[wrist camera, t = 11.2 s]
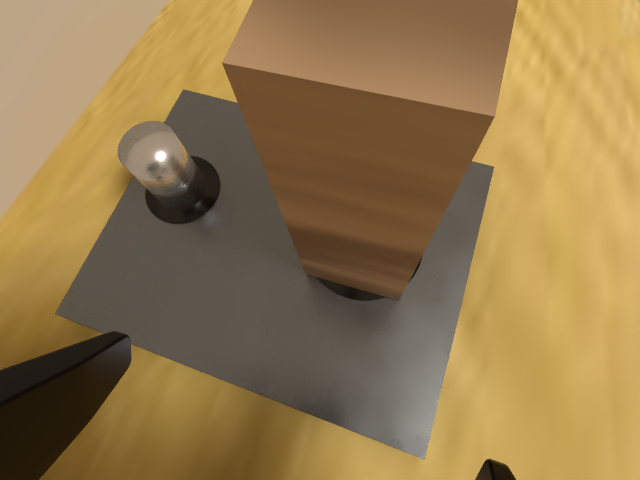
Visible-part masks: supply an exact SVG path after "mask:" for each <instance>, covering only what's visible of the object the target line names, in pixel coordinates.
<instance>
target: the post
mask: <svg viewBox="0 0 640 480" xmlns="http://www.w3.org/2000/svg"><path fill="white" fill-rule="evenodd" d="M517 3H518V0H253V2H252V4H251V6H250V8H249V10H248V12H247V14H246V16H245V18H244V20H243V22H242V24H241V26H240V28H239V30H238V32H237V34H236V36H235V38H234V40H233V42H232V44H231V46H230V48H229V50H228V52H227V54H226V56H225V58H224V60H223V62H222V64H223V66H224V69H225V71H226V74H227V76H228V79H229V81H230V84H231V86H232V89H233V91H234V94H235V96H236V99H237V102H238V104H239V107H240V109H241V112H242V114H243V117H244V119H245V122H246V124H247V127H248V129H249V132H250V135H251V137H252V140H253V142H254V145H255V147H256V150H257V152H258V155H259V157H260V160H261V162H262V165H263V167H264V170H265V173H266V175H267V178H268V180H269V183H270V185H271V188H272V190H273V193H274V195H275V198H276V200H277V203H278V206H279V208H280V211H281V213H282V216H283V218H284V221H285V223H286V226H287V228H288V231H289V233H290V236H291V238H292V241H293V244H294V246H295V249H296V251H297V254H298V256H299V259H300V261H301V264H302V266H303V269H304V271H305V274H308V275H311V276H315V277H319V278H322V279H325V280H329V281H332V282H336V283H339V284H343V285H346V286H350V287H353V288H357V289H360V290H364V291H367V292H371V293H374V294H378V295H381V296H385V297H388V298H392V299H395V300H400V298H401V296H402V294H403V292H404V290H405V288H406V286H407V284H408V282H409V281H410V279H411V277H412V275H413V273H414V271H415V269H416V267H417V265H418V263H419V261H420V259H421V257H422V255H423V254H424V252H425V250H426V248H427V246H428V244H429V242H430V240H431V238H432V236H433V234H434V232H435V230H436V229H437V227H438V225H439V223H440V221H441V219H442V217H443V215H444V213H445V211H446V209H447V207H448V205H449V203H450V202H451V200H452V198H453V196H454V194H455V192H456V190H457V188H458V186H459V184H460V182H461V180H462V178H463V177H464V175H465V173H466V171H467V169H468V167H469V165H470V163H471V161H472V159H473V157H474V155H475V153H476V152H477V150H478V148H479V146H480V144H481V142H482V140H483V138H484V136H485V134H486V132H487V130H488V128H489V126H490V125H491V123H492V121H493V119H494V117H495V112H496V107H497V103H498V98H499V93H500V88H501V83H502V78H503V73H504V68H505V63H506V58H507V53H508V48H509V43H510V38H511V33H512V28H513V23H514V18H515V13H516V8H517Z"/></svg>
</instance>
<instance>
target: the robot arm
mask: <svg viewBox="0 0 640 480" xmlns="http://www.w3.org/2000/svg"><path fill="white" fill-rule="evenodd" d="M130 363H131V342H130V337H129V336H128V335H127V334H124V333H121V332H118V331H111V332H108V333H105V334H102V335H100V336H97V337H94V338H91V339H88V340H85V341H82V342H80V343H77V344H74V345H71V346H68V347H65V348H62V349H60V350H57V351H54V352H51V353H48V354H45V355H42V356H40V357H37V358H34V359H31V360H28V361H25V362H22V363H20V364H17V365H14V366H11V367H8V368H5V369H2V370H0V480H39V479H40V478H41V477H42V476H43V474H44V473H45V472H46V471H47V470H48V469H49V468H50V466H51V465H52V464H53V463H54V462H55V461H56V460H57V458H58V457H59V456H60V455H61V454H62V453H63V451H64V450H65V449H66V448H67V447H68V446H69V445H70V443H71V442H72V441H73V440H74V439H75V438H76V437H77V435H78V434H79V433H80V432H81V431H82V430H83V428H84V427H85V426H86V425H87V424H88V423H89V421H90V420H91V419H92V418H93V416H94V415H95V414H96V412H97V411H98V410H99V408H100V407H101V405H102V404H103V403H104V401H105V400H106V398H107V397H108V396H109V394H110V393H111V391H112V390H113V389H114V387H115V386H116V384H117V383H118V382H119V380H120V379H121V378H122V376H123V375H124V373H125V372H126V371H127V369H128V368H129V366H130ZM475 480H516V478H515V477H514V475H513V474H512V472H511V470H510V469H509V467H508V466H507V465H505V464H503V463H501V462H498V461H495V460H492V459H487V460H486V461H485V462H484V464H483V466H482V468H481V470H480V472H479V473H478V475H477V477H476V479H475Z"/></svg>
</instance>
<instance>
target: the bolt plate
mask: <svg viewBox="0 0 640 480" xmlns="http://www.w3.org/2000/svg"><path fill="white" fill-rule="evenodd" d="M118 157H119V160H120V162H121V163H122V164H123V165H124V166H125V167H126V168H127V169H128V170H129V171H130V172H131V173H132V174H133V175H134V177H133V178H132V180H131V182H130V184H129V185H128V187H127V189H126V191H125V192H124V194H123V196H122V198H121V199H120V201H119V203H118V205H117V206H116V208H115V210H114V212H113V213H112V215H111V217H110V219H109V220H108V222H107V224H106V226H105V227H104V229H103V231H102V233H101V234H100V236H99V238H98V240H97V241H96V243H95V245H94V247H93V248H92V250H91V252H90V254H89V255H88V257H87V259H86V261H85V262H84V264H83V266H82V268H81V269H80V271H79V273H78V275H77V276H76V278H75V280H74V282H73V283H72V285H71V287H70V289H69V290H68V292H67V294H66V296H65V297H64V299H63V301H62V303H61V304H60V306H59V308H58V310H57V311H56V313H55V314H57V315H59V316H62V317H64V318H67V319H69V320H72V321H74V322H77V323H80V324H82V325H85V326H87V327H90V328H92V329H95V330H97V331H100V332H102V333H108V332H111V331H118V332H121V333H124V334H127V335H128V336H129V337H130V342H131V344H133V345H135V346H138V347H140V348H143V349H146V350H148V351H151V352H153V353H156V354H158V355H161V356H163V357H166V358H168V359H171V360H173V361H176V362H179V363H181V364H184V365H186V366H189V367H191V368H194V369H196V370H199V371H201V372H204V373H206V374H209V375H212V376H214V377H217V378H219V379H222V380H224V381H227V382H229V383H232V384H234V385H237V386H239V387H242V388H245V389H247V390H250V391H252V392H255V393H257V394H260V395H262V396H265V397H267V398H270V399H272V400H275V401H278V402H280V403H283V404H285V405H288V406H290V407H293V408H295V409H298V410H300V411H303V412H305V413H308V414H311V415H313V416H316V417H318V418H321V419H323V420H326V421H328V422H331V423H333V424H336V425H338V426H341V427H344V428H346V429H349V430H351V431H354V432H356V433H359V434H361V435H364V436H366V437H369V438H371V439H374V440H377V441H379V442H382V443H384V444H387V445H389V446H392V447H394V448H397V449H399V450H402V451H404V452H407V453H410V454H412V455H415V456H417V457H420V458H422V459H425V455H426V451H427V447H428V443H429V439H430V434H431V430H432V426H433V422H434V418H435V413H436V409H437V405H438V401H439V396H440V392H441V388H442V384H443V380H444V375H445V371H446V367H447V363H448V359H449V354H450V350H451V346H452V342H453V338H454V333H455V329H456V325H457V321H458V316H459V312H460V308H461V304H462V300H463V295H464V291H465V287H466V283H467V279H468V274H469V270H470V266H471V262H472V258H473V253H474V249H475V245H476V241H477V236H478V232H479V228H480V224H481V220H482V215H483V211H484V207H485V203H486V199H487V194H488V190H489V186H490V182H491V177H492V173H493V169H494V167H493V166H489V165H485V164H481V163H477V162H473V161H471V163H470V165H469V167H468V169H467V171H466V173H465V175H464V177H463V178H462V180H461V182H460V184H459V186H458V188H457V190H456V192H455V194H454V196H453V198H452V200H451V202H450V203H449V205H448V207H447V209H446V211H445V213H444V215H443V217H442V219H441V221H440V223H439V225H438V227H437V229H436V230H435V232H434V234H433V236H432V238H431V240H430V242H429V244H428V246H427V248H426V250H425V252H424V254H423V255H422V257H421V259H420V261H419V263H418V265H417V267H416V269H415V271H414V273H413V275H412V277H411V279H410V281H409V282H408V284H407V286H406V288H405V290H404V292H403V294H402V296H401V298H400V300H395V299H392V298H388V297H385V296H381V295H378V294H374V293H371V292H367V291H364V290H360V289H357V288H353V287H350V286H346V285H343V284H339V283H336V282H332V281H329V280H325V279H322V278H319V277H315V276H311V275H308V274H305V271H304V269H303V266H302V264H301V261H300V259H299V256H298V254H297V251H296V249H295V246H294V244H293V241H292V238H291V236H290V233H289V231H288V228H287V226H286V223H285V221H284V218H283V216H282V213H281V211H280V208H279V206H278V203H277V200H276V198H275V195H274V193H273V190H272V188H271V185H270V183H269V180H268V178H267V175H266V173H265V170H264V167H263V165H262V162H261V160H260V157H259V155H258V152H257V150H256V147H255V145H254V142H253V140H252V137H251V135H250V132H249V129H248V127H247V124H246V122H245V119H244V117H243V114H242V112H241V109H240V107H239V104H238V103H236V102H232V101H228V100H224V99H220V98H216V97H212V96H208V95H204V94H200V93H196V92H192V91H188V90H184V89H183V91H182V92H181V94H180V96H179V98H178V99H177V101H176V103H175V105H174V106H173V108H172V110H171V112H170V113H169V115H168V117H167V119H166V121H165V122H164V123H162V122H158V121H148V122H143V123H140V124H138V125H136V126H134V127H132V128H131V129H130V130H129V131H127V132H126V133H125V135H124V136H123V137H122V139H121V141H120V143H119V146H118Z"/></svg>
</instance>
